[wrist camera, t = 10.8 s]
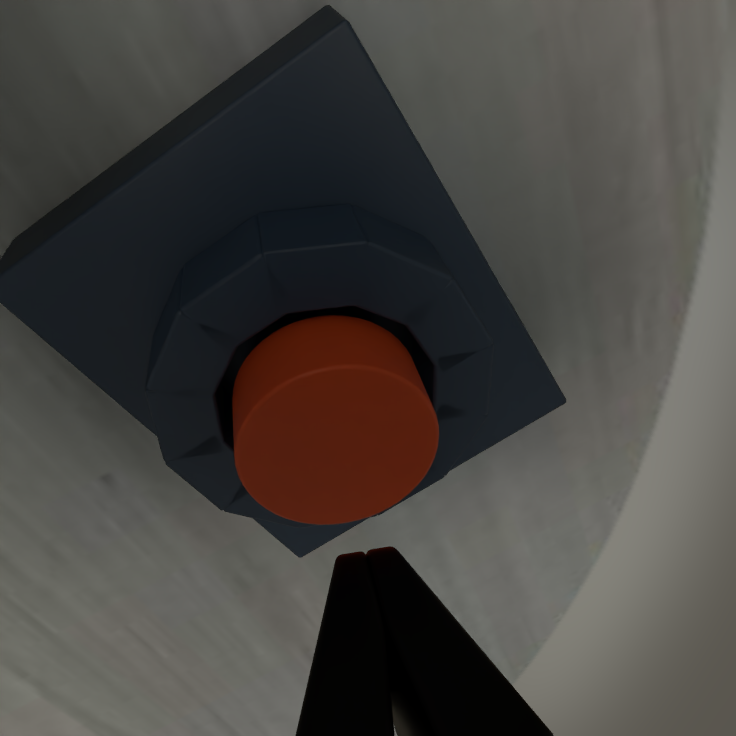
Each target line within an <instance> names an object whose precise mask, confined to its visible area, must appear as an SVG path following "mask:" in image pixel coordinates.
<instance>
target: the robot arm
mask: <svg viewBox="0 0 736 736" xmlns="http://www.w3.org/2000/svg"><path fill="white" fill-rule="evenodd" d="M393 723H394V724H393ZM394 726H395V730H396V733H397V736H553V733H552V732H551V731H550V730H549V729H548V728H547V726H546V725H545V724H544V723H543V722H542V721H541V719H540V718H539V717H538V716H537V715H536V713H535V712H534V711H533V710H532V709H531V708H530V706H529V705H528V704H527V703H526V702H525V700H524V699H523V698H522V697H521V696H520V695H519V693H518V692H517V691H516V690H515V689H514V687H513V686H512V685H511V684H510V683H509V681H508V680H507V679H506V678H505V677H504V676H503V674H502V673H501V672H500V671H499V670H498V668H497V667H496V666H495V665H494V664H493V663H492V661H491V660H490V659H489V658H488V657H487V655H486V654H485V653H484V652H483V651H482V650H481V648H480V647H479V646H478V645H477V644H476V642H475V641H474V640H473V639H472V638H471V637H470V635H469V634H468V633H467V632H466V631H465V629H464V628H463V627H462V626H461V625H460V624H459V622H458V621H457V620H456V619H455V618H454V616H453V615H452V614H451V613H450V612H449V610H448V609H447V608H446V607H445V606H444V605H443V603H442V602H441V601H440V600H439V599H438V597H437V596H436V595H435V594H434V593H433V592H432V590H431V589H430V588H429V587H428V586H427V584H426V583H425V582H424V581H423V580H422V579H421V577H420V576H419V575H418V574H417V573H416V571H415V570H414V569H413V568H412V567H411V566H410V564H409V563H408V562H407V561H406V560H405V558H404V557H403V556H402V555H401V554H400V553H399V551H398V550H397V549H395V548H394V547H383V548H378V549H372V550H369V551H368V552H367V553H366V554H365V553H364V552H354V553H348V554H342V555H339V556H338V557H337V558H336V561H335V565H334V569H333V574H332V578H331V583H330V587H329V591H328V596H327V600H326V605H325V609H324V613H323V618H322V622H321V627H320V631H319V635H318V640H317V644H316V648H315V653H314V657H313V662H312V666H311V670H310V675H309V679H308V684H307V688H306V692H305V697H304V701H303V706H302V710H301V714H300V719H299V723H298V727H297V732H296V736H394Z"/></svg>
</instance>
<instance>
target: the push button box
mask: <svg viewBox="0 0 736 736" xmlns="http://www.w3.org/2000/svg"><path fill="white" fill-rule="evenodd" d="M0 303H1V304H2V305H3V306H5V307H6V308H7V309H8V310H9V311H10V312H12V313H13V314H14V315H15V316H16V317H17V318H19V319H20V320H21V321H22V322H23V323H25V324H26V325H27V326H28V327H29V328H30V329H32V330H33V331H34V332H35V333H36V334H37V335H39V336H40V337H41V338H42V339H43V340H44V341H46V342H47V343H48V344H49V345H50V346H51V347H53V348H54V349H55V350H56V351H57V352H59V353H60V354H61V355H62V356H63V357H64V358H66V359H67V360H68V361H69V362H70V363H71V364H73V365H74V366H75V367H76V368H77V369H78V370H80V371H81V372H82V373H83V374H84V375H85V376H87V377H88V378H89V379H90V380H91V381H93V382H94V383H95V384H96V385H97V386H98V387H100V388H101V389H102V390H103V391H104V392H105V393H107V394H108V395H109V396H110V397H111V398H112V399H114V400H115V401H116V402H117V403H118V404H119V405H121V406H122V407H123V408H124V409H125V410H127V411H128V412H129V413H130V414H131V415H132V416H134V417H135V418H136V419H137V420H138V421H139V422H141V423H142V424H143V425H144V426H145V427H146V428H148V429H149V430H150V431H151V432H152V433H153V434H155V435H156V436H157V438H158V441H159V445H160V449H161V452H162V456H163V459H164V461H165V463H166V465H167V466H168V467H170V468H171V469H172V470H173V471H174V472H176V473H177V474H178V475H179V476H181V477H182V478H183V479H184V480H185V481H187V482H188V483H189V484H190V485H191V486H193V487H194V488H195V489H196V490H197V491H199V492H200V493H201V494H202V495H203V496H205V497H206V498H207V499H208V500H209V501H211V502H212V503H213V504H214V505H216V506H217V507H218V508H219V509H220V510H224V511H225V512H229V513H233V514H238V515H242V516H247V517H251V518H253V519H254V520H255V521H257V522H258V523H259V524H260V525H261V526H263V527H264V528H265V529H266V530H267V531H268V532H270V533H271V534H272V535H273V536H274V537H275V538H277V539H278V540H279V541H280V542H281V543H282V544H284V545H285V546H286V547H287V548H288V549H290V550H291V551H292V552H293V553H294V554H295V555H297V556H298V557H303V556H304V555H306V554H308V553H310V552H311V551H313V550H315V549H316V548H318V547H320V546H322V545H323V544H325V543H327V542H328V541H330V540H332V539H334V538H335V537H337V536H339V535H340V534H342V533H344V532H346V531H347V530H349V529H351V528H352V527H354V526H356V525H357V524H359V523H361V522H363V521H364V520H366V519H368V518H369V517H367V518H364V519H361V520H357V521H353V522H348V523H341V524H332V525H317V524H307V523H301V522H296V521H292V520H289V519H286V518H283V517H281V516H278V515H276V514H274V513H272V512H271V511H269V510H267V509H265V508H264V507H263V506H262V505H260V504H259V503H258V502H257V501H256V500H255V499H254V498H253V497H252V496H251V495H250V494H249V493H248V491H247V490H246V489H245V487H244V486H243V484H242V482H241V480H240V478H239V476H238V474H237V470H236V467H235V460H234V439H233V406H232V397H233V387H234V383H235V379H236V376H237V374H238V371H239V369H240V367H241V366H242V364H243V362H244V360H245V359H246V358H247V356H248V355H249V354H250V352H251V351H252V350H253V349H254V348H255V347H256V346H257V345H258V344H259V343H260V342H261V341H262V340H264V339H265V338H266V337H268V336H269V335H270V334H272V333H273V332H275V331H277V330H278V329H280V328H282V327H284V326H286V325H288V324H291V323H293V322H296V321H299V320H302V319H306V318H310V317H316V316H323V315H345V316H351V317H357V318H360V319H364V320H367V321H370V322H372V323H374V324H377V325H379V326H381V327H383V328H384V329H386V330H387V331H389V332H391V333H392V334H393V335H394V336H395V337H396V338H398V339H399V340H400V341H401V343H402V344H403V345H404V346H405V347H406V349H407V350H408V352H409V354H410V355H411V357H412V359H413V362H414V364H415V366H416V369H417V371H418V373H419V375H420V378H421V380H422V382H423V385H424V387H425V389H426V392H427V394H428V396H429V398H430V401H431V403H432V405H433V408H434V410H435V413H436V415H437V420H438V424H439V441H438V448H437V451H436V455H435V458H434V460H433V463H432V465H431V467H430V469H429V470H428V472H427V474H426V475H425V477H424V478H423V479H422V481H421V482H420V483H419V484H418V485H417V486H416V487H415V488H414V489H413V490H412V491H411V492H410V493H409V494H408V495H407V496H406V497H404V498H403V499H402V500H401V501H399V502H397V503H396V504H394V505H393V506H391V507H390V508H392V507H394V506H396V505H397V504H399V503H401V502H402V501H404V500H406V499H408V498H409V497H411V496H413V495H414V494H416V493H418V492H420V491H421V490H423V489H425V488H426V487H428V486H430V485H432V484H433V483H435V482H437V481H438V480H440V479H442V478H443V477H444V475H447V473H448V472H449V471H450V470H452V469H453V468H455V467H457V466H458V465H460V464H462V463H464V462H465V461H467V460H469V459H470V458H472V457H474V456H476V455H477V454H479V453H481V452H482V451H484V450H486V449H488V448H489V447H491V446H493V445H494V444H496V443H498V442H500V441H501V440H503V439H505V438H506V437H508V436H510V435H512V434H513V433H515V432H517V431H518V430H520V429H522V428H523V427H525V426H527V425H529V424H530V423H532V422H534V421H535V420H537V419H539V418H541V417H542V416H544V415H546V414H547V413H549V412H551V411H553V410H554V409H556V408H558V407H559V406H561V405H563V404H565V403H566V398H565V396H564V395H563V393H562V391H561V389H560V388H559V386H558V384H557V382H556V381H555V379H554V377H553V376H552V374H551V372H550V370H549V369H548V367H547V365H546V363H545V362H544V360H543V358H542V356H541V355H540V353H539V351H538V349H537V348H536V346H535V344H534V343H533V341H532V339H531V337H530V336H529V334H528V332H527V330H526V329H525V327H524V325H523V323H522V322H521V320H520V318H519V316H518V315H517V313H516V311H515V310H514V308H513V306H512V304H511V303H510V301H509V299H508V297H507V296H506V294H505V292H504V290H503V289H502V287H501V285H500V283H499V282H498V280H497V278H496V277H495V275H494V273H493V271H492V270H491V268H490V266H489V264H488V263H487V261H486V259H485V257H484V256H483V254H482V252H481V250H480V249H479V247H478V245H477V244H476V242H475V240H474V238H473V237H472V235H471V233H470V231H469V230H468V228H467V226H466V224H465V223H464V221H463V219H462V217H461V216H460V214H459V212H458V210H457V209H456V207H455V205H454V204H453V202H452V200H451V198H450V197H449V195H448V193H447V191H446V190H445V188H444V186H443V184H442V183H441V181H440V179H439V177H438V176H437V174H436V172H435V171H434V169H433V167H432V165H431V164H430V162H429V160H428V158H427V157H426V155H425V153H424V151H423V150H422V148H421V146H420V144H419V143H418V141H417V139H416V138H415V136H414V134H413V132H412V131H411V129H410V127H409V125H408V124H407V122H406V120H405V118H404V117H403V115H402V113H401V111H400V110H399V108H398V106H397V105H396V103H395V101H394V99H393V98H392V96H391V94H390V92H389V91H388V89H387V87H386V85H385V84H384V82H383V80H382V78H381V77H380V75H379V73H378V72H377V70H376V68H375V66H374V65H373V63H372V61H371V59H370V58H369V56H368V54H367V52H366V51H365V49H364V47H363V45H362V44H361V42H360V40H359V38H358V37H357V35H356V33H355V32H354V30H353V28H352V26H351V25H350V23H349V22H348V21H347V20H346V19H345V18H344V17H343V16H341V15H340V14H339V13H338V12H337V11H336V10H334V9H333V8H332V7H331V6H329V5H327V6H325V7H323V8H322V9H321V10H319V11H318V12H317V13H315V14H314V15H313V16H311V17H310V18H309V19H307V20H306V21H305V22H303V23H302V24H301V25H299V26H298V27H297V28H295V29H294V30H293V31H291V32H290V33H289V34H287V35H286V36H285V37H283V38H282V39H281V40H279V41H278V42H277V43H275V44H274V45H272V46H271V47H270V48H268V49H267V50H266V51H264V52H263V53H262V54H260V55H259V56H258V57H256V58H255V59H254V60H252V61H251V62H250V63H248V64H247V65H246V66H244V67H243V68H242V69H240V70H239V71H238V72H236V73H235V74H234V75H232V76H231V77H230V78H228V79H227V80H226V81H224V82H223V83H222V84H220V85H219V86H218V87H216V88H215V89H214V90H212V91H211V92H210V93H208V94H207V95H206V96H204V97H203V98H202V99H200V100H199V101H198V102H196V103H195V104H194V105H192V106H191V107H190V108H188V109H187V110H186V111H184V112H183V113H182V114H180V115H179V116H178V117H176V118H175V119H174V120H172V121H171V122H170V123H168V124H167V125H166V126H164V127H163V128H162V129H160V130H159V131H158V132H156V133H155V134H154V135H152V136H151V137H150V138H148V139H147V140H146V141H144V142H143V143H142V144H140V145H139V146H137V147H136V148H135V149H133V150H132V151H131V152H129V153H128V154H127V155H125V156H124V157H123V158H121V159H120V160H119V161H117V162H116V163H115V164H113V165H112V166H111V167H109V168H108V169H107V170H105V171H104V172H103V173H101V174H100V175H99V176H97V177H96V178H95V179H93V180H92V181H91V182H89V183H88V184H87V185H85V186H84V187H83V188H81V189H80V190H79V191H77V192H76V193H75V194H73V195H72V196H71V197H69V198H68V199H67V200H65V201H64V202H63V203H61V204H60V205H59V206H57V207H56V208H55V209H53V210H52V211H51V212H49V213H48V214H47V215H45V216H44V217H43V218H41V219H40V220H39V221H37V222H36V223H35V224H33V225H32V226H31V227H29V228H28V229H27V230H25V231H24V232H23V233H21V234H20V235H19V236H17V237H16V238H15V239H13V240H12V242H11V244H10V245H9V247H8V248H7V250H6V252H5V253H4V255H3V256H2V258H1V260H0ZM390 508H388V509H386V510H384V511H382V512H380V513H377V514H375V515H372V516H370V517H373V516H377V515H380V514H382V513H384V512H385V511H387V510H389V509H390Z"/></svg>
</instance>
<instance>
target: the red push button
mask: <svg viewBox="0 0 736 736" xmlns="http://www.w3.org/2000/svg"><path fill="white" fill-rule="evenodd" d="M232 406H233V439H234V460H235V467H236V470H237V474H238V476H239V478H240V480H241V482H242V484H243V486H244V487H245V489H246V490H247V491H248V493H249V494H250V495H251V496H252V497H253V498H254V499H255V500H256V501H257V502H258V503H259V504H260V505H262V506H263V507H264V508H265V509H267V510H269V511H271V512H272V513H274V514H276V515H278V516H281V517H283V518H286V519H289V520H292V521H296V522H301V523H307V524H317V525H332V524H341V523H348V522H353V521H357V520H361V519H364V518H367V517H370V516H372V515H375V514H377V513H380V512H382V511H384V510H386V509H388V508H390V507H391V506H393V505H394V504H396V503H397V502H399V501H401V500H402V499H403V498H404V497H406V496H407V495H408V494H409V493H410V492H411V491H412V490H413V489H414V488H415V487H416V486H417V485H418V484H419V483H420V482H421V481H422V479H423V478H424V477H425V475H426V474H427V472H428V470H429V469H430V467H431V465H432V463H433V460H434V458H435V455H436V451H437V448H438V441H439V424H438V420H437V415H436V413H435V410H434V408H433V405H432V403H431V401H430V398H429V396H428V394H427V392H426V389H425V387H424V385H423V382H422V380H421V378H420V375H419V373H418V371H417V369H416V366H415V364H414V362H413V359H412V357H411V355H410V354H409V352H408V350H407V349H406V347H405V346H404V345H403V344H402V343H401V341H400V340H399V339H398V338H396V337H395V336H394V335H393V334H392V333H391V332H389V331H387V330H386V329H384V328H383V327H381V326H379V325H377V324H374V323H372V322H370V321H367V320H364V319H360V318H357V317H351V316H345V315H323V316H316V317H310V318H306V319H302V320H299V321H296V322H293V323H291V324H288V325H286V326H284V327H282V328H280V329H278V330H277V331H275V332H273V333H272V334H270V335H269V336H268V337H266V338H265V339H264V340H262V341H261V342H260V343H259V344H258V345H257V346H256V347H255V348H254V349H253V350H252V351H251V352H250V354H249V355H248V356H247V358H246V359H245V360H244V362H243V364H242V366H241V367H240V369H239V371H238V374H237V376H236V379H235V383H234V387H233V397H232Z"/></svg>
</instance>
